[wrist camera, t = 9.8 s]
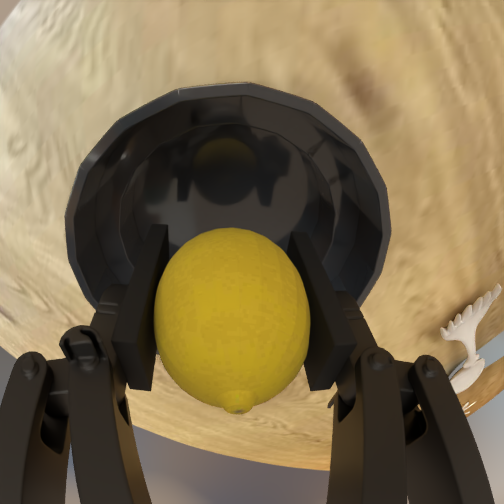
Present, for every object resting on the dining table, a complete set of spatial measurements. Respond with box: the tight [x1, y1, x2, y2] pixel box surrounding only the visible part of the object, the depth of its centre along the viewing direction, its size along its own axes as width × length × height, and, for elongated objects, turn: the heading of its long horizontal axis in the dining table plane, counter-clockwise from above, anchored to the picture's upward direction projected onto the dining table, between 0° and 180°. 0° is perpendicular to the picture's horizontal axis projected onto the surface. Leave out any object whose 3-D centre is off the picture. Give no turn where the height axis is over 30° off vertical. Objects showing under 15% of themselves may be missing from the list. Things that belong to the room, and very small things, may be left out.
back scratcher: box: [440, 284, 501, 394], centre depth 31 cm, size 9×32×4 cm, turn 36°
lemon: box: [153, 228, 310, 414], centre depth 10 cm, size 6×6×8 cm
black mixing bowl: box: [65, 82, 391, 355], centre depth 15 cm, size 15×15×6 cm
